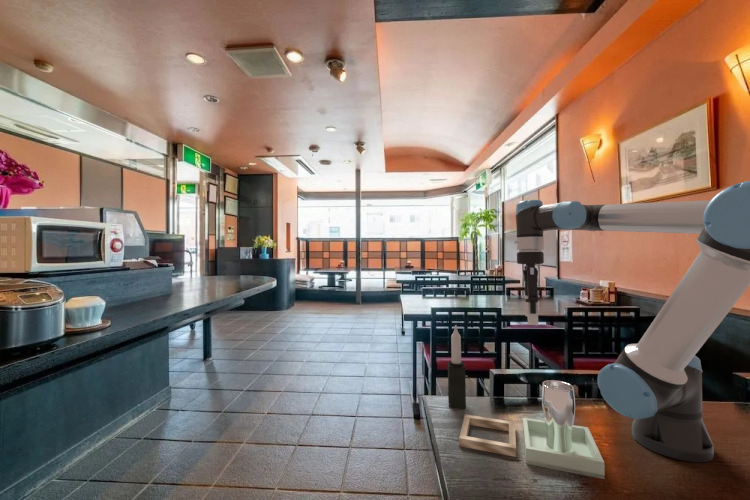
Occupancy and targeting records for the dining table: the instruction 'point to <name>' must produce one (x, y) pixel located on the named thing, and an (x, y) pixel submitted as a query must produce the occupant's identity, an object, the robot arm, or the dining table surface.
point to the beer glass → (558, 415)
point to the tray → (579, 462)
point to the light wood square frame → (488, 444)
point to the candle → (456, 374)
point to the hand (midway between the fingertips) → (531, 320)
